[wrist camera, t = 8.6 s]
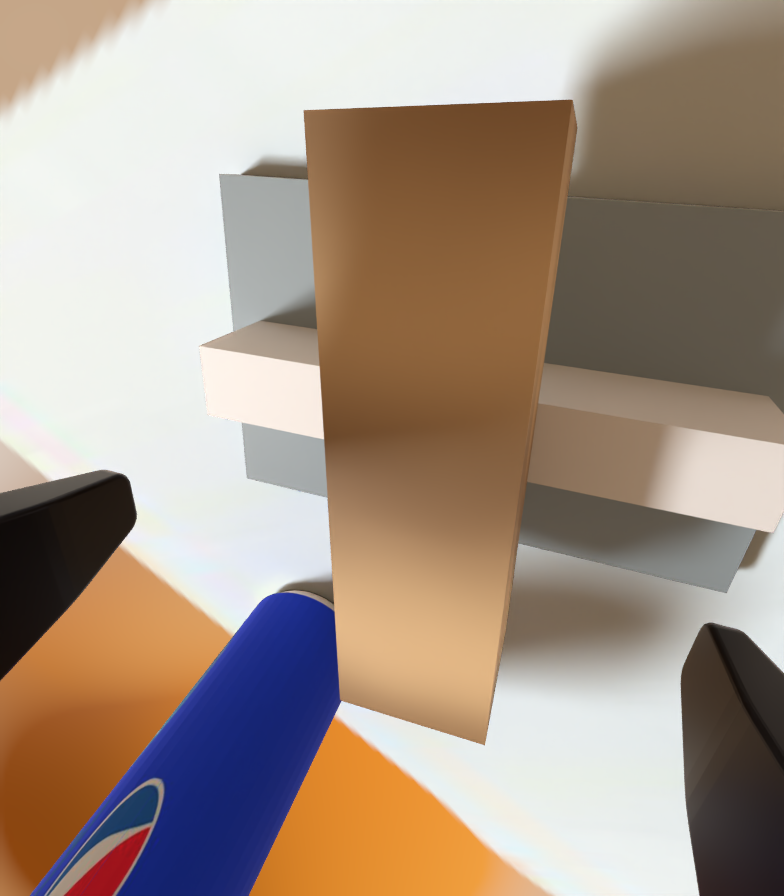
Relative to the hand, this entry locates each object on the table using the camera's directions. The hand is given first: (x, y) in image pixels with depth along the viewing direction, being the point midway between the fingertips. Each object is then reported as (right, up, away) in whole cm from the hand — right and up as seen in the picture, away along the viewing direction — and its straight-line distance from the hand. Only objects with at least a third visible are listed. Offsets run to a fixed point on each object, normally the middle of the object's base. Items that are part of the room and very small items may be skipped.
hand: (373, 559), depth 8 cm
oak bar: (+2, +2, +4) cm, 5 cm away
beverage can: (-3, -6, +16) cm, 17 cm away
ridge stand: (+3, +4, +8) cm, 9 cm away
